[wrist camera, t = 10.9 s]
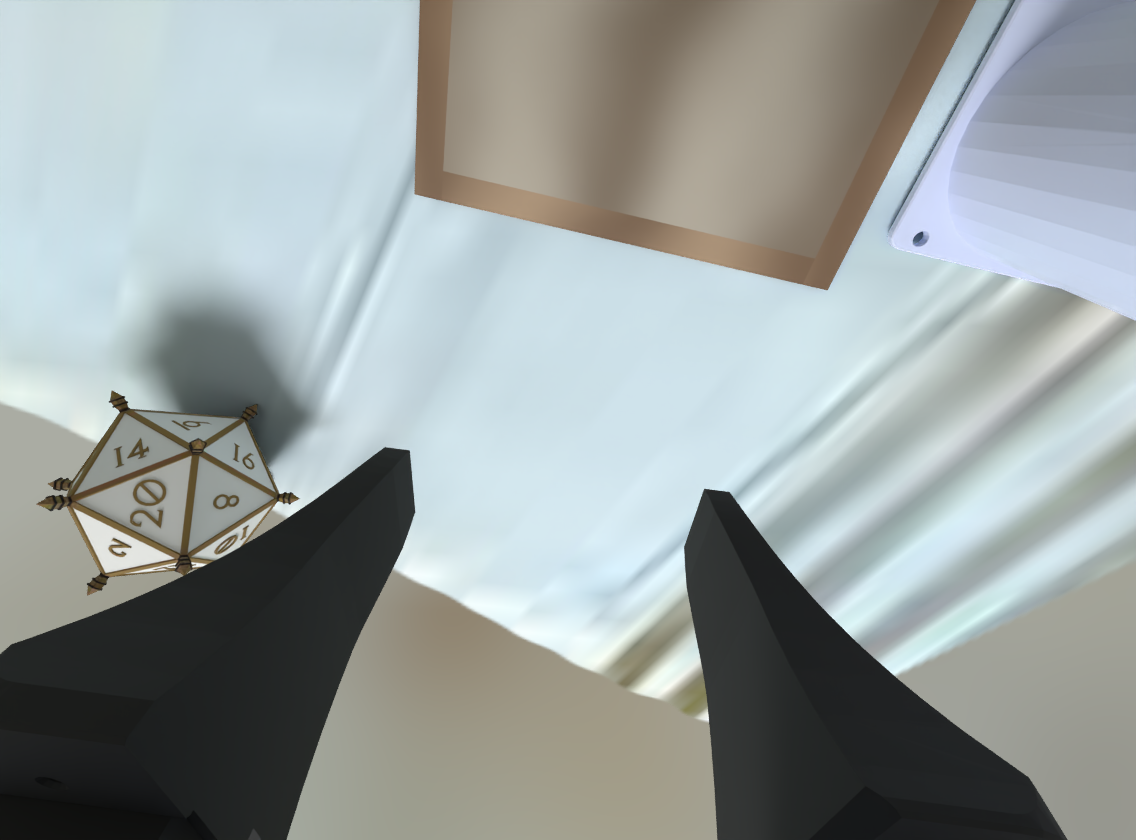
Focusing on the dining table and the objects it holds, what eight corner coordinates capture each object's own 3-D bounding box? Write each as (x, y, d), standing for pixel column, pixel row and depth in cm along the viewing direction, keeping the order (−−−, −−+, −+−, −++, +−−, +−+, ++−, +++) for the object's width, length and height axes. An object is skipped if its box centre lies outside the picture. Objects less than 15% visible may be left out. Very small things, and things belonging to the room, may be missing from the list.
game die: (244, 379, 28) (5, 344, 18) (362, 439, 26) (161, 434, 16) (189, 523, 28) (-72, 563, 19) (301, 593, 26) (70, 680, 17)
